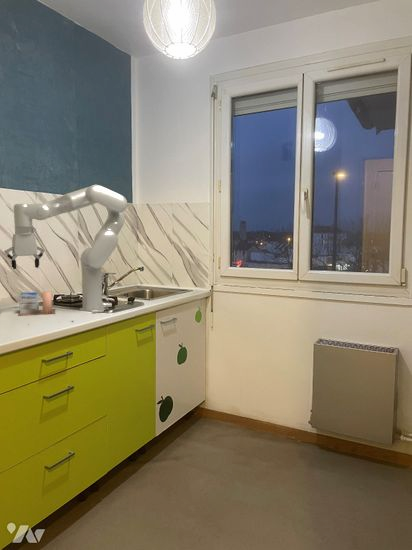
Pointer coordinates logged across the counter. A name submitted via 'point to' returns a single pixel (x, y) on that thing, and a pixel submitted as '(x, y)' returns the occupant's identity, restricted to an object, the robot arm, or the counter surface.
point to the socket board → (31, 309)
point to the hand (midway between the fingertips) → (25, 268)
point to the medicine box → (28, 296)
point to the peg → (47, 302)
